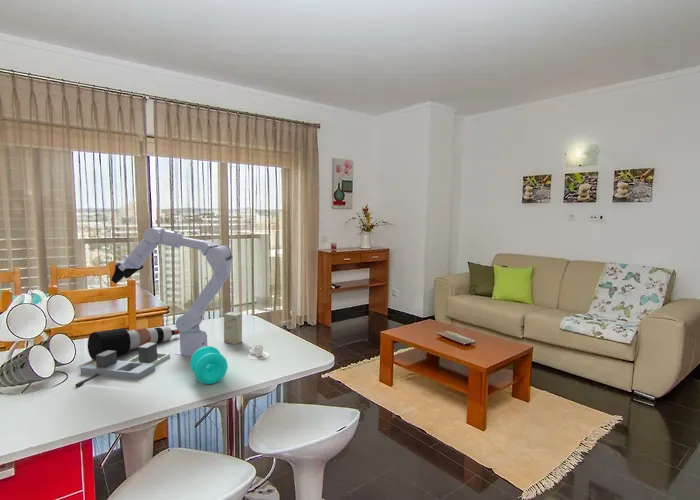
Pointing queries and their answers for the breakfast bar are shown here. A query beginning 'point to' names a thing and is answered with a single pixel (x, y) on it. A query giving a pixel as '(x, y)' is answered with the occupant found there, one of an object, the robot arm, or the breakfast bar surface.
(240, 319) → the skincare box
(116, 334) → the black white cylindrical piece
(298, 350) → the breakfast bar surface
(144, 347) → the plug
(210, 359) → the teal spool
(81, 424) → the breakfast bar surface
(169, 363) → the breakfast bar surface
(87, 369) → the power strip
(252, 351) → the teacup and saucer
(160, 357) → the tray
